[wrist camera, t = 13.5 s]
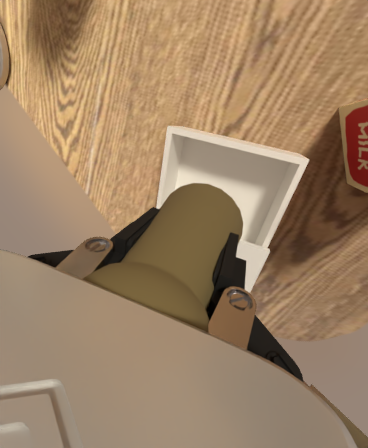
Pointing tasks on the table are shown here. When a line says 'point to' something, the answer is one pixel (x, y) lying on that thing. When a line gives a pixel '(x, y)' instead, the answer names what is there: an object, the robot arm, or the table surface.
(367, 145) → the milk carton
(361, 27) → the table surface
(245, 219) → the white hollow box
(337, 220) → the table surface
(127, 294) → the cork
